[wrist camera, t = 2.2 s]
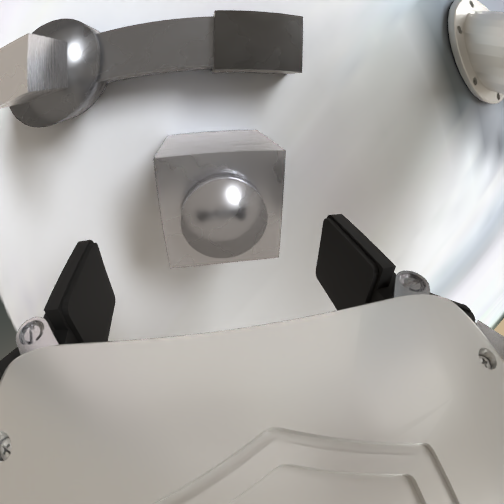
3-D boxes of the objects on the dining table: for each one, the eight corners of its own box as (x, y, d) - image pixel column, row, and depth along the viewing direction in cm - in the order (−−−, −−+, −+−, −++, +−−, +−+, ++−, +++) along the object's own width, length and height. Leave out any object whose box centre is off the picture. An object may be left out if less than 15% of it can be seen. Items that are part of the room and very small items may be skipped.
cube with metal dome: (257, 129, 17) (292, 155, 11) (255, 208, 21) (283, 267, 15) (167, 135, 16) (150, 164, 10) (175, 215, 20) (169, 279, 14)
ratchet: (288, 6, 12) (339, -29, 6) (286, 95, 16) (338, 103, 10) (28, 45, 10) (-36, 42, 3) (32, 130, 13) (-31, 160, 7)
